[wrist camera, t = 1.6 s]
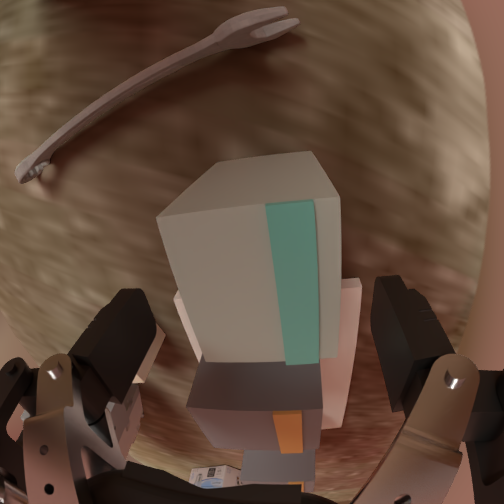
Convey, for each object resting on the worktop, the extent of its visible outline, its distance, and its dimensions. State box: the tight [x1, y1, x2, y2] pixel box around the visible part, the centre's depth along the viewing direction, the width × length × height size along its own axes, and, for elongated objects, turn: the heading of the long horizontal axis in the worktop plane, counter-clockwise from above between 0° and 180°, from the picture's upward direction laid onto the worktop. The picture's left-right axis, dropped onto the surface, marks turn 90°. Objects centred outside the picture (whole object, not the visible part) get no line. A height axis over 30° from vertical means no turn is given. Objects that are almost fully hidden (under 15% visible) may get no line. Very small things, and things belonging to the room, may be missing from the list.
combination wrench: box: [15, 6, 300, 184], centre depth 12 cm, size 4×1×20 cm
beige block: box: [132, 323, 166, 383], centre depth 19 cm, size 4×4×5 cm
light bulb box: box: [189, 465, 243, 488], centre depth 35 cm, size 11×7×11 cm, turn 136°
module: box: [156, 151, 341, 365], centre depth 12 cm, size 6×5×8 cm
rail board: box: [173, 278, 362, 492], centre depth 19 cm, size 19×12×9 cm, turn 9°
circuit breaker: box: [21, 383, 144, 460], centre depth 20 cm, size 8×14×15 cm, turn 167°
